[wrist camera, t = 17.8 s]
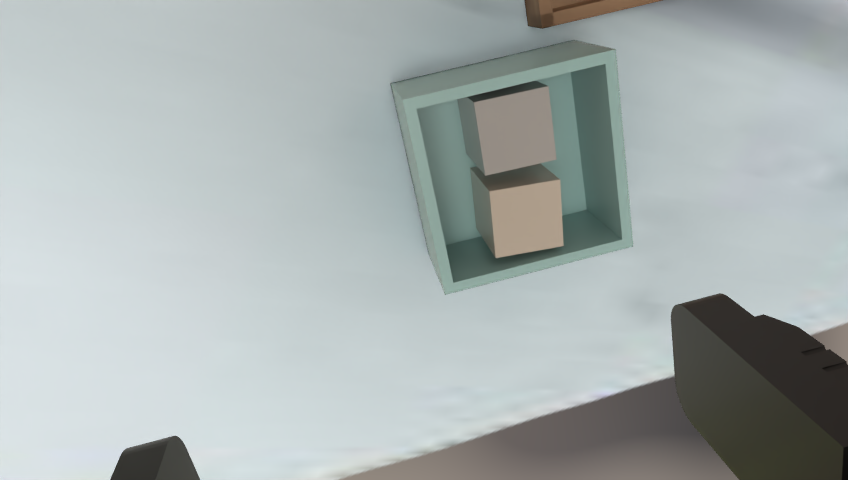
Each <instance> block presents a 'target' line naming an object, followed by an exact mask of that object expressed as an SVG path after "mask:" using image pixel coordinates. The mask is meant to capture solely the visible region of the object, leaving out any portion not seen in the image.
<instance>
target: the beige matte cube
mask: <svg viewBox="0 0 848 480" xmlns="http://www.w3.org/2000/svg"><path fill="white" fill-rule="evenodd" d="M470 173H471V182H472V192H473V202H474V211H475V221H476V228H477V230H478V231H479V233H480V235H481V236H482V238H483V239H484V241H485V242H486V244H487V245H488V247H489V249H490V250H491V252H492V253H493V255H494V256H495V258H500V257H505V256H511V255H516V254H522V253H527V252H533V251H539V250H544V249H550V248H555V247H561V246H564V244H563V224H562V205H561V185H560V179H559V178H558V177H557V176H555V175H554V174H553V173H552V172H550V171H549V170H548V169H547V168H545V167H544V166H543V165H542V164H540V163H539V164H535V165H531V166H526V167H522V168H517V169H513V170H508V171H504V172H500V173H495V174H491V175H486V176H485V175H484V174H483V172H482V171H481V170H480V169H479V168H478V167H472V168H470Z"/></svg>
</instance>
